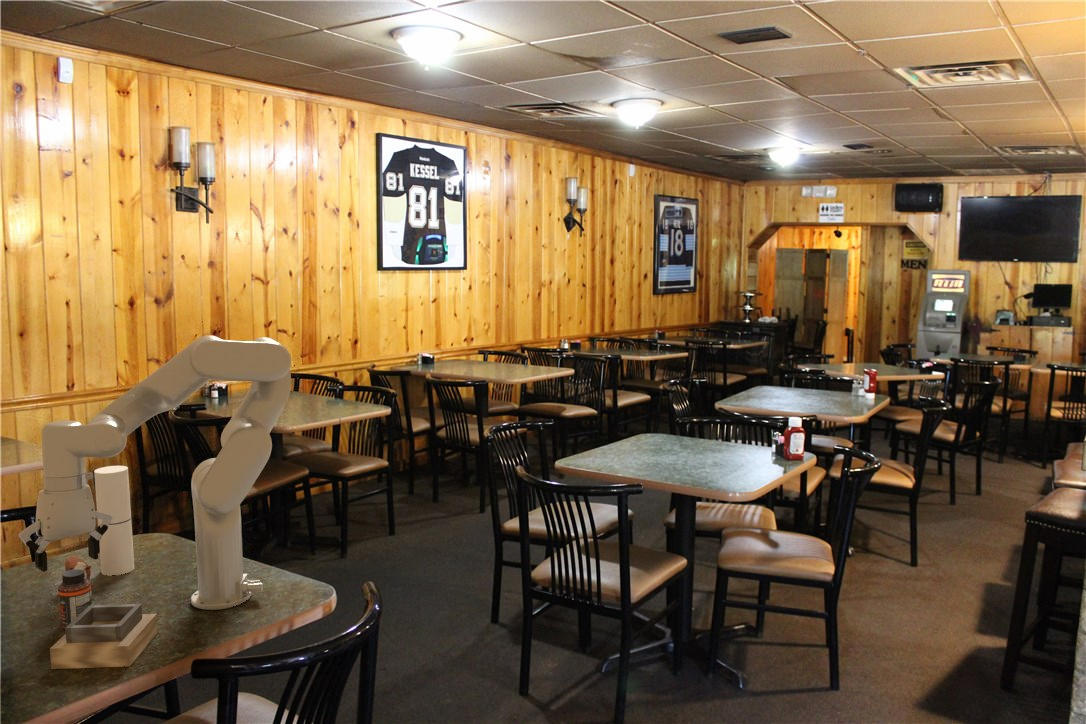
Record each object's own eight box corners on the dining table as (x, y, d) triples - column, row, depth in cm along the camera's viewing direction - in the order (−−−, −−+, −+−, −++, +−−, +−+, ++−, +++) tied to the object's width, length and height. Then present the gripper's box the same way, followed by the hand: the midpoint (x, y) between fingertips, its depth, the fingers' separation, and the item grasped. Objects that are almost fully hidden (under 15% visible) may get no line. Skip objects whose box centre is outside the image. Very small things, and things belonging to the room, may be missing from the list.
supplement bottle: (56, 624, 174) (52, 572, 173) (87, 615, 179) (83, 564, 177) (66, 633, 170) (62, 580, 169) (97, 624, 175) (94, 572, 173)
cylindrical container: (125, 575, 200) (118, 473, 197) (95, 575, 200) (88, 473, 197) (139, 564, 207) (133, 465, 204) (111, 564, 207) (104, 465, 204)
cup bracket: (157, 632, 171) (155, 599, 170) (129, 666, 157) (127, 630, 156) (86, 634, 170) (83, 601, 169) (51, 669, 156) (48, 633, 155)
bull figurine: (73, 604, 184) (70, 569, 183) (65, 585, 195) (62, 551, 194) (95, 600, 187) (93, 564, 186) (86, 580, 197) (83, 547, 196)
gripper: (102, 471, 179) (104, 549, 181) (10, 486, 166) (14, 570, 168) (117, 478, 174) (120, 557, 177) (24, 494, 161) (28, 580, 163)
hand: (68, 563), depth 172 cm, fingers open, 9 cm apart
